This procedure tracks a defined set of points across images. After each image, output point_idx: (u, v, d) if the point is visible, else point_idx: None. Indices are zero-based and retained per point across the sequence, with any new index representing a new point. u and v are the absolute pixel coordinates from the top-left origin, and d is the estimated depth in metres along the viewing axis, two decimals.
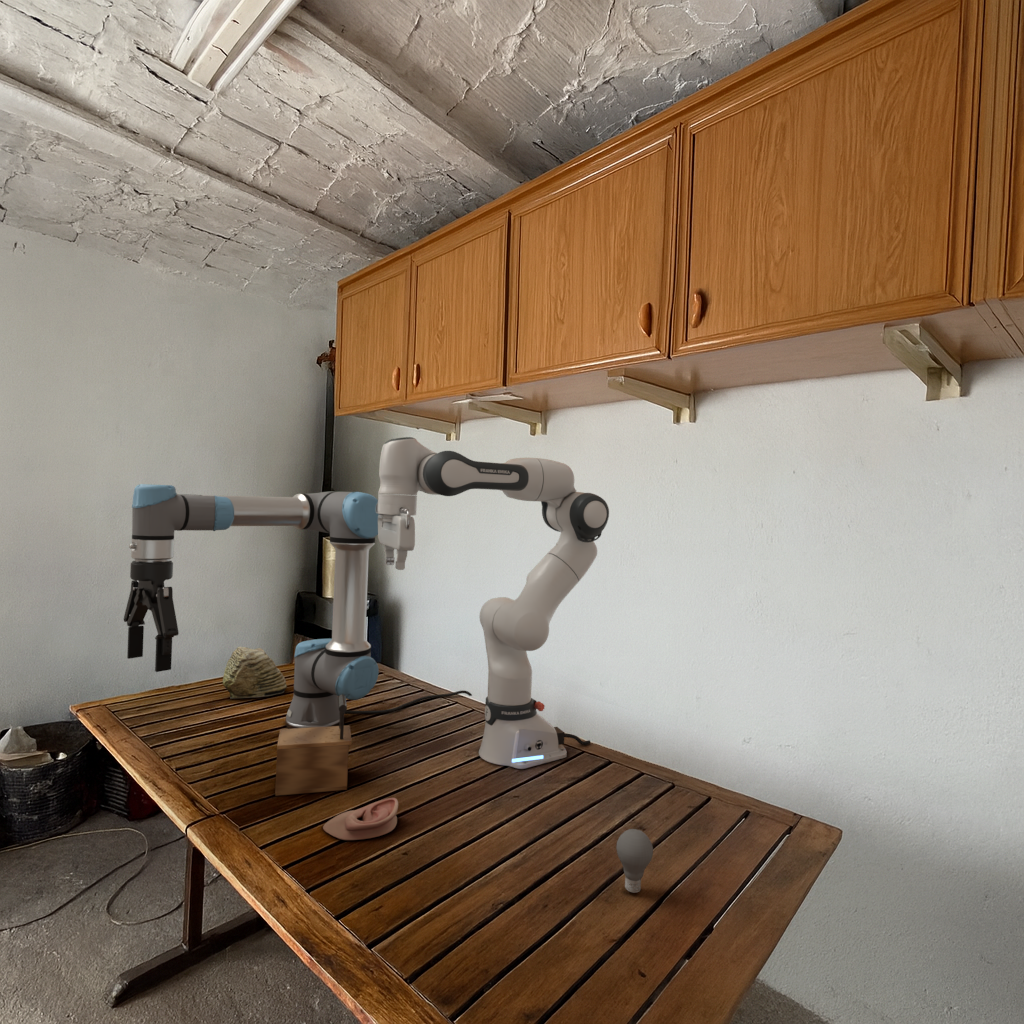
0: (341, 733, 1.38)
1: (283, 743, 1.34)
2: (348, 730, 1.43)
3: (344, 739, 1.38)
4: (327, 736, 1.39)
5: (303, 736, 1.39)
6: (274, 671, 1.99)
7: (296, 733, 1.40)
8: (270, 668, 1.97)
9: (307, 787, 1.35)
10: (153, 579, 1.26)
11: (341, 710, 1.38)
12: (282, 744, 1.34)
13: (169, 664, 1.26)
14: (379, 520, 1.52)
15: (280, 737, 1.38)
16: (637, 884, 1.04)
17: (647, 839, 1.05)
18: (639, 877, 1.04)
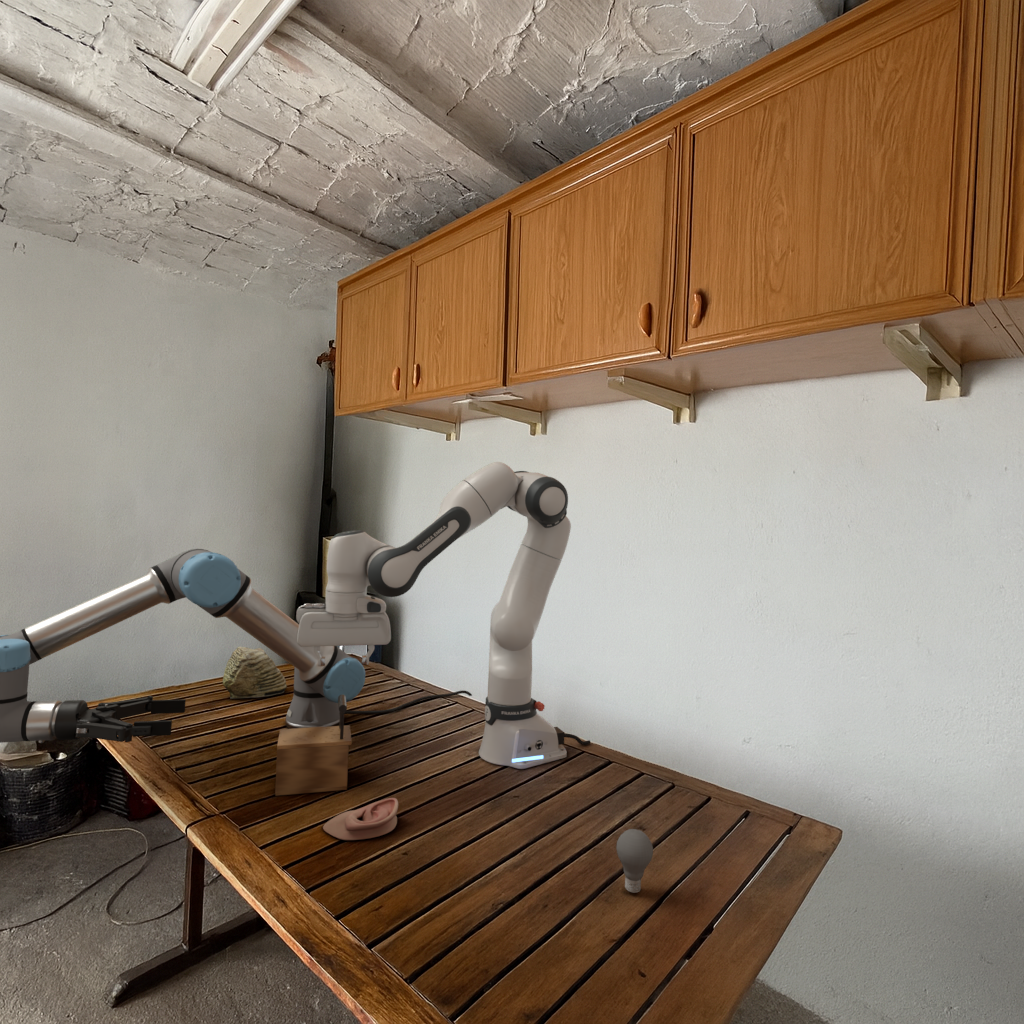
0: (341, 733, 1.38)
1: (283, 743, 1.34)
2: (348, 730, 1.43)
3: (344, 739, 1.38)
4: (327, 736, 1.39)
5: (303, 736, 1.39)
6: (274, 671, 1.99)
7: (296, 733, 1.40)
8: (270, 668, 1.97)
9: (307, 787, 1.35)
10: (73, 731, 1.23)
11: (341, 710, 1.38)
12: (282, 744, 1.34)
13: (164, 723, 1.25)
14: None
15: (280, 737, 1.38)
16: (637, 884, 1.04)
17: (647, 839, 1.05)
18: (639, 877, 1.04)
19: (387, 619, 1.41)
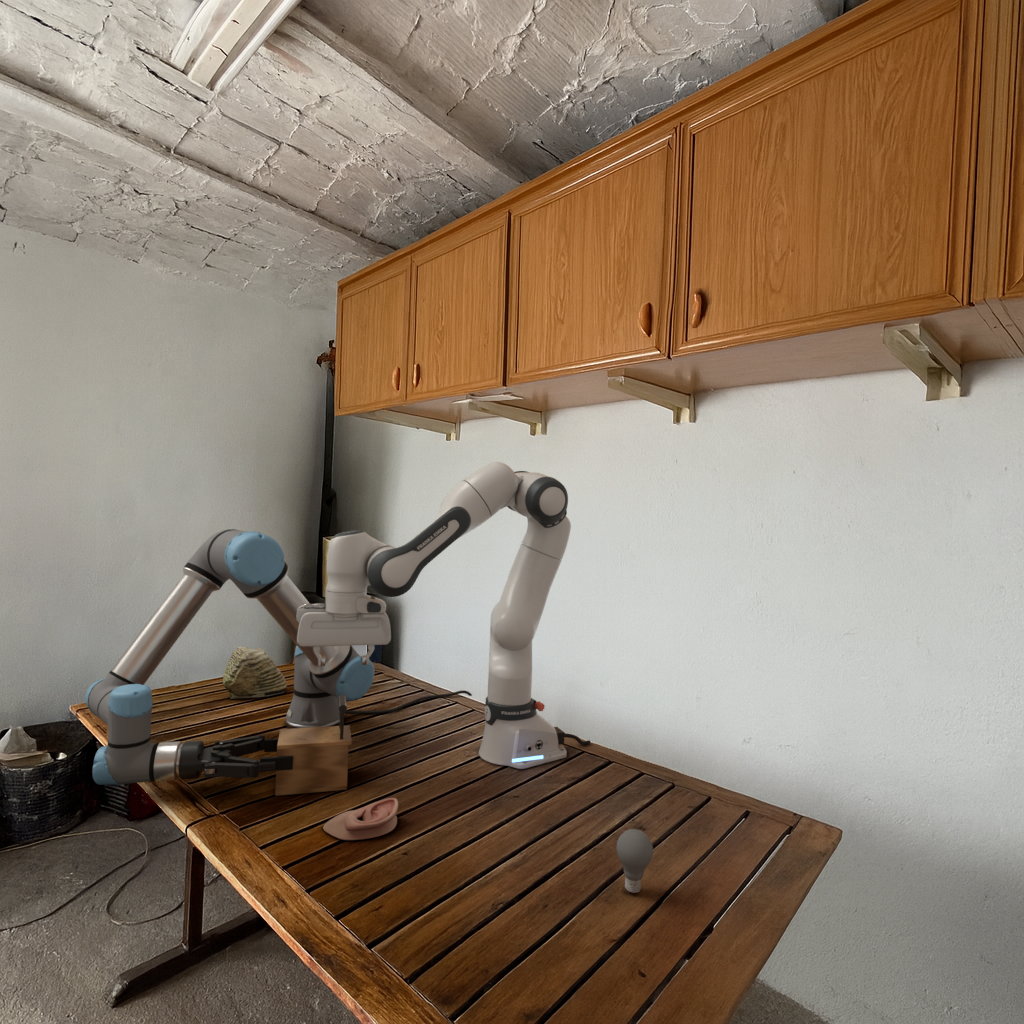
0: (341, 733, 1.38)
1: (283, 743, 1.34)
2: (348, 730, 1.43)
3: (344, 739, 1.38)
4: (327, 736, 1.39)
5: (303, 736, 1.39)
6: (274, 671, 1.99)
7: (296, 733, 1.40)
8: (270, 668, 1.97)
9: (307, 787, 1.35)
10: (196, 771, 1.30)
11: (341, 710, 1.38)
12: (282, 744, 1.34)
13: (287, 758, 1.33)
14: None
15: (280, 737, 1.38)
16: (637, 884, 1.04)
17: (647, 839, 1.05)
18: (639, 877, 1.04)
19: (387, 619, 1.41)
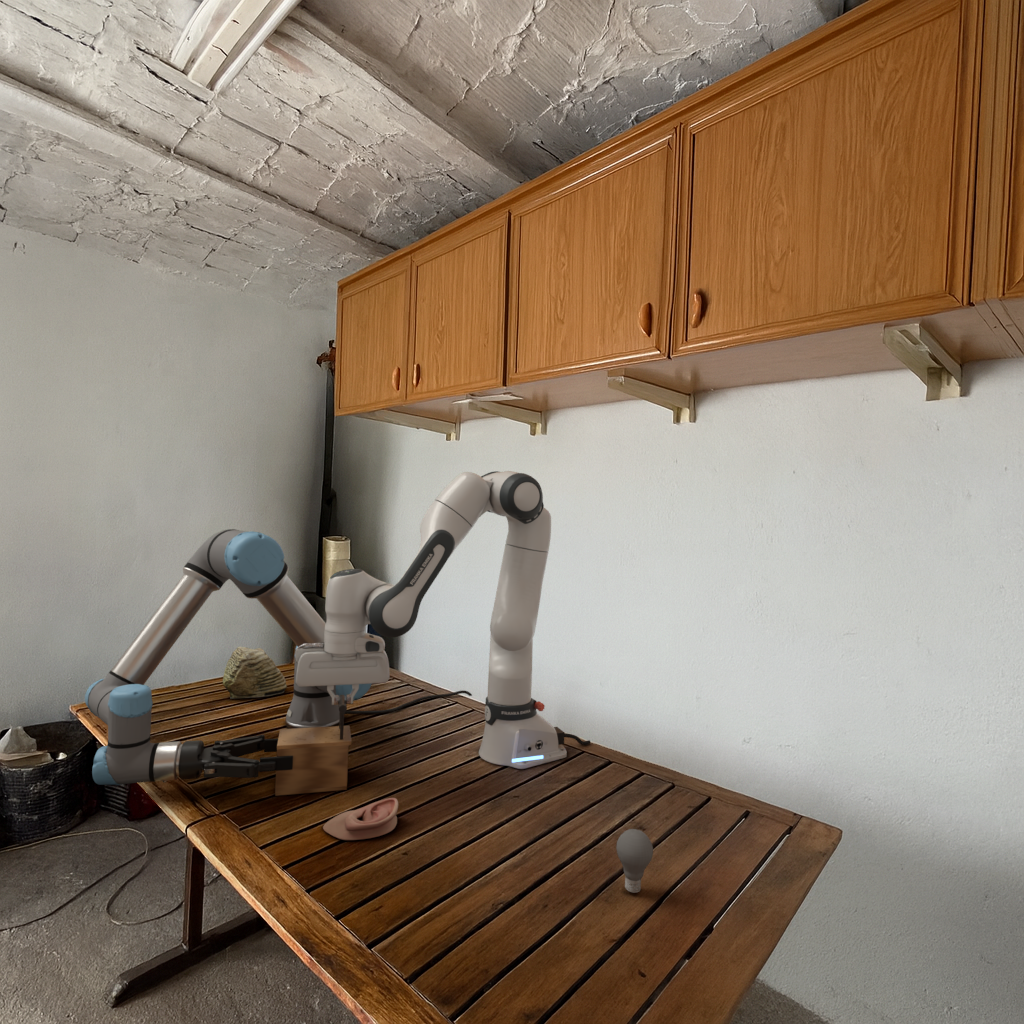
0: (341, 733, 1.38)
1: (283, 743, 1.34)
2: (348, 730, 1.43)
3: (343, 739, 1.38)
4: (327, 736, 1.39)
5: (303, 736, 1.39)
6: (274, 671, 1.99)
7: (296, 733, 1.40)
8: (270, 668, 1.97)
9: (307, 787, 1.35)
10: (195, 771, 1.30)
11: (341, 710, 1.38)
12: (282, 744, 1.34)
13: (287, 758, 1.33)
14: None
15: (280, 737, 1.38)
16: (637, 884, 1.04)
17: (647, 839, 1.05)
18: (639, 877, 1.04)
19: (386, 658, 1.41)
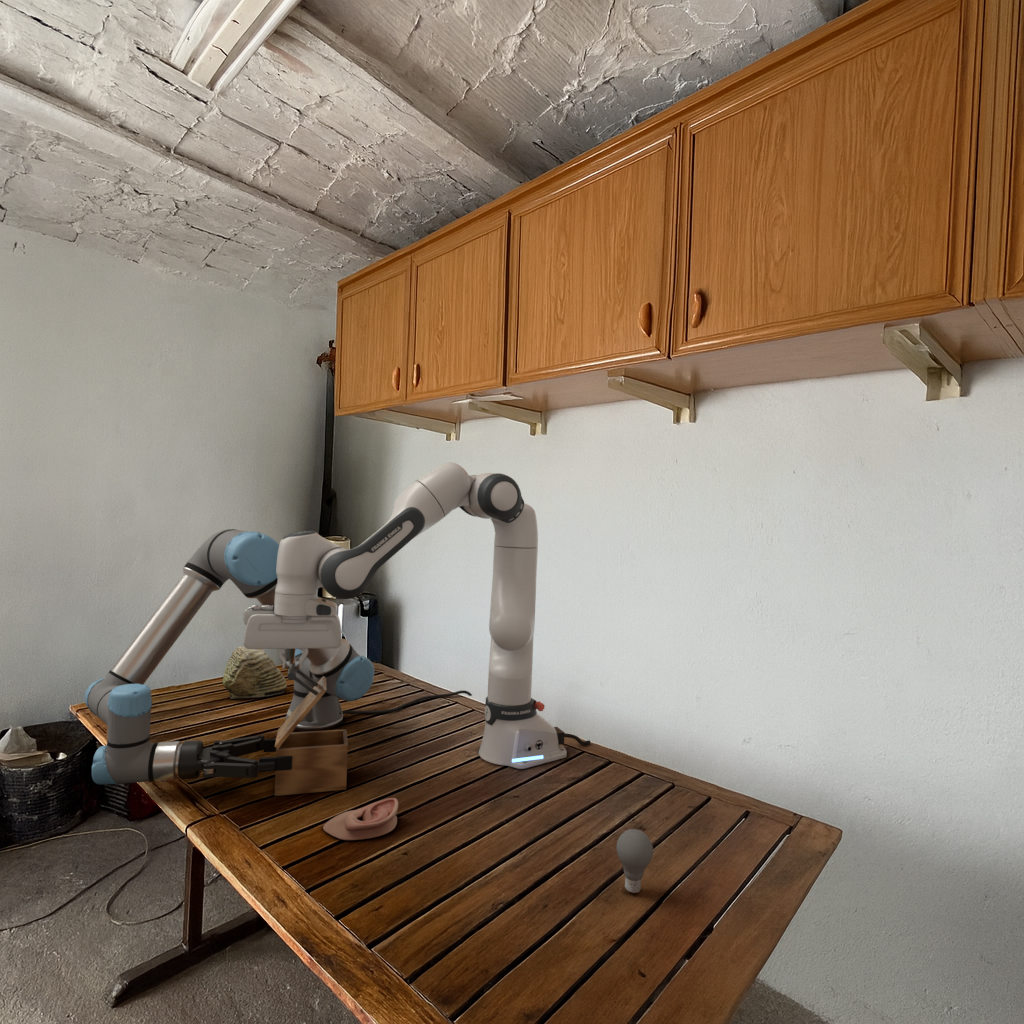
0: (311, 691, 1.36)
1: (278, 740, 1.34)
2: (322, 681, 1.41)
3: (318, 692, 1.36)
4: (307, 702, 1.38)
5: (292, 719, 1.38)
6: (274, 671, 1.99)
7: (287, 722, 1.40)
8: (270, 668, 1.97)
9: (306, 787, 1.35)
10: (195, 771, 1.30)
11: (292, 678, 1.35)
12: (278, 741, 1.34)
13: (286, 758, 1.33)
14: None
15: (277, 737, 1.37)
16: (637, 884, 1.04)
17: (647, 839, 1.05)
18: (639, 877, 1.04)
19: (338, 622, 1.38)
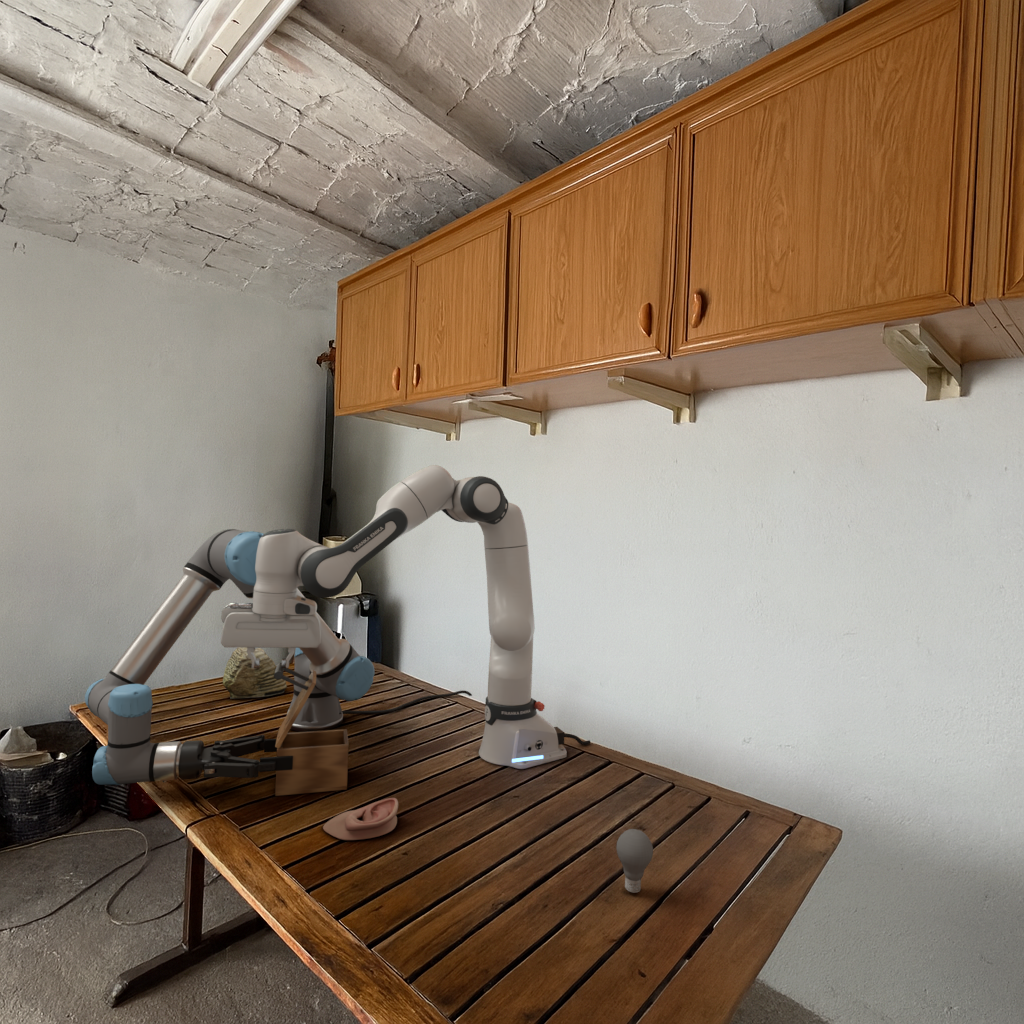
0: (301, 686, 1.35)
1: (278, 740, 1.34)
2: (311, 675, 1.41)
3: (308, 687, 1.36)
4: (300, 698, 1.37)
5: (288, 718, 1.38)
6: (274, 671, 1.99)
7: (285, 721, 1.39)
8: (270, 668, 1.97)
9: (307, 787, 1.35)
10: (195, 771, 1.30)
11: (279, 677, 1.34)
12: (277, 741, 1.34)
13: (287, 758, 1.33)
14: None
15: (277, 737, 1.37)
16: (637, 884, 1.04)
17: (647, 839, 1.05)
18: (639, 877, 1.04)
19: (317, 621, 1.37)
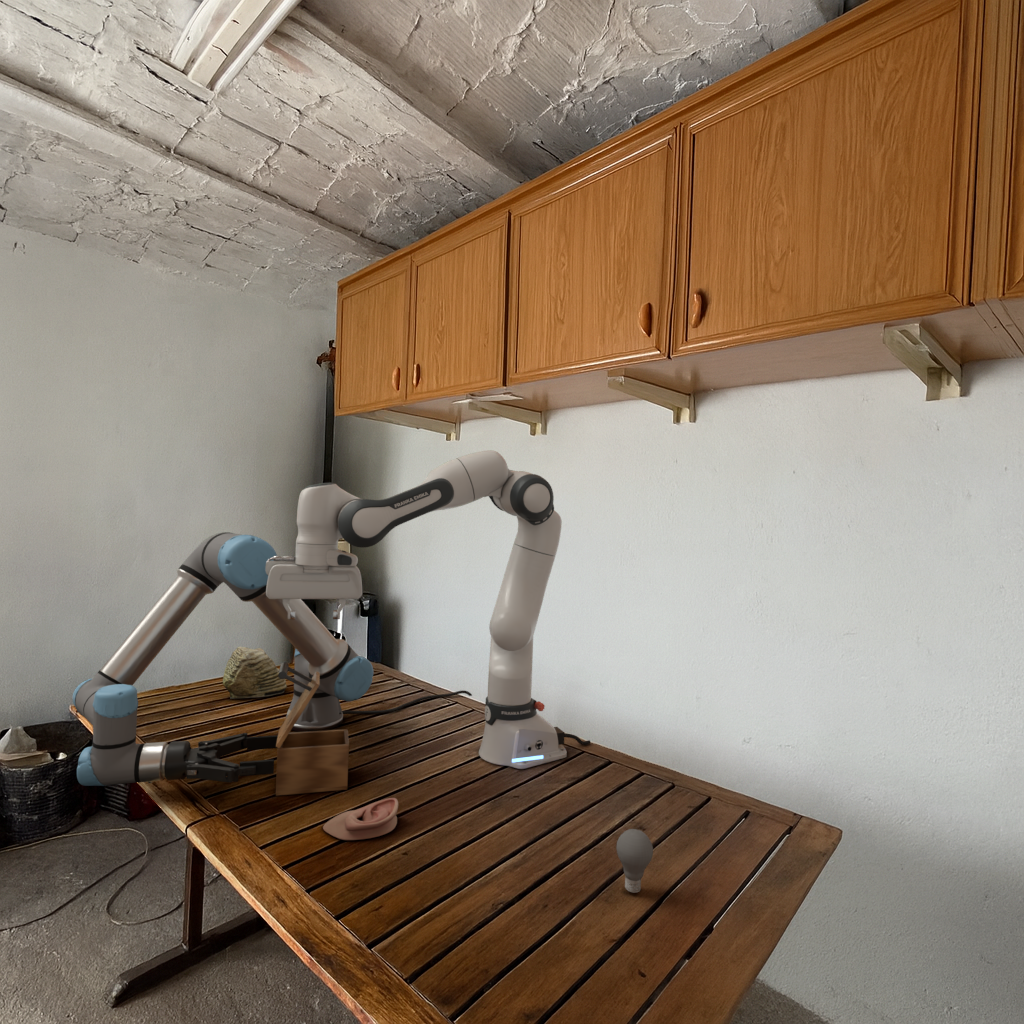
0: (305, 687, 1.36)
1: (279, 740, 1.34)
2: (315, 676, 1.41)
3: (312, 688, 1.36)
4: (303, 698, 1.38)
5: (290, 718, 1.38)
6: (274, 671, 1.99)
7: (286, 721, 1.40)
8: (270, 668, 1.97)
9: (307, 787, 1.35)
10: (181, 772, 1.29)
11: (283, 677, 1.34)
12: (278, 741, 1.34)
13: (268, 762, 1.30)
14: None
15: (278, 737, 1.37)
16: (637, 884, 1.04)
17: (647, 839, 1.05)
18: (639, 877, 1.04)
19: (358, 573, 1.39)
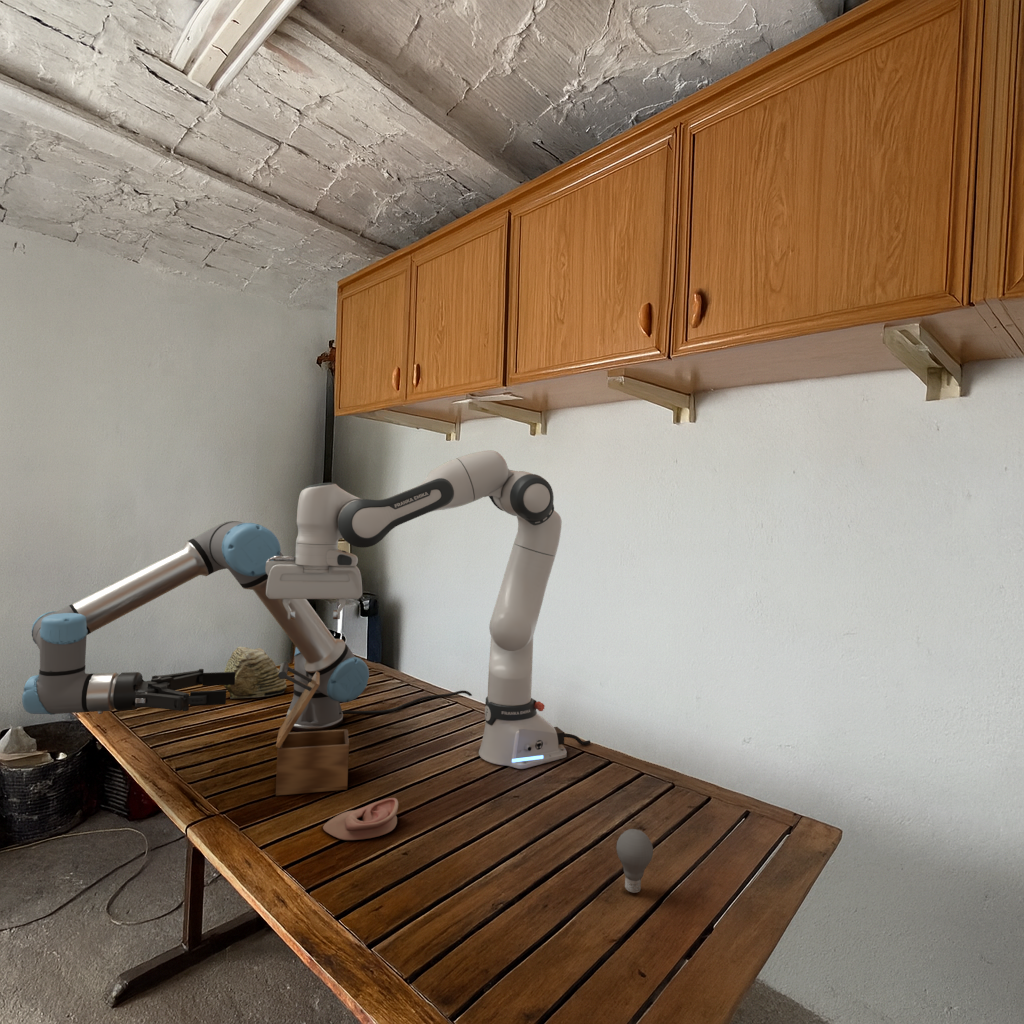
0: (305, 687, 1.36)
1: (279, 740, 1.34)
2: (315, 676, 1.41)
3: (312, 688, 1.36)
4: (303, 698, 1.38)
5: (290, 718, 1.38)
6: (274, 671, 1.99)
7: (286, 721, 1.40)
8: (270, 668, 1.97)
9: (307, 787, 1.35)
10: (131, 701, 1.26)
11: (283, 677, 1.34)
12: (278, 741, 1.34)
13: (219, 693, 1.28)
14: None
15: (278, 737, 1.37)
16: (637, 884, 1.04)
17: (647, 839, 1.05)
18: (639, 877, 1.04)
19: (358, 573, 1.39)
